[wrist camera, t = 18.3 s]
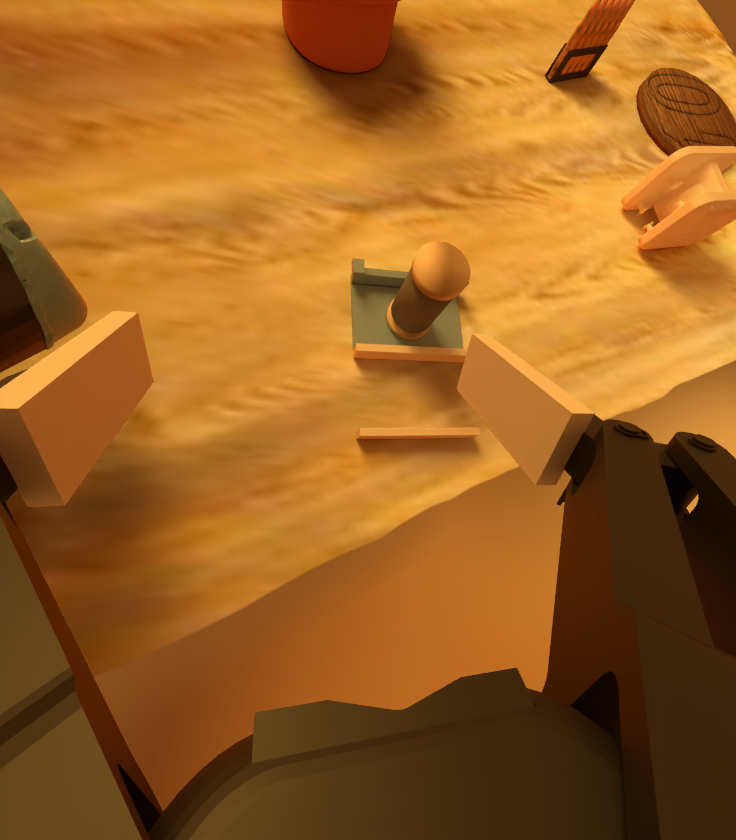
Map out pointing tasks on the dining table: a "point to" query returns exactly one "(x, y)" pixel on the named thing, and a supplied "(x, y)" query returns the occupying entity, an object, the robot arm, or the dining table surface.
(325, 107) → the dining table surface
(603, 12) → the ammunition clip
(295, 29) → the potted cactus
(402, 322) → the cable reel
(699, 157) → the cable organizer
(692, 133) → the trivet
